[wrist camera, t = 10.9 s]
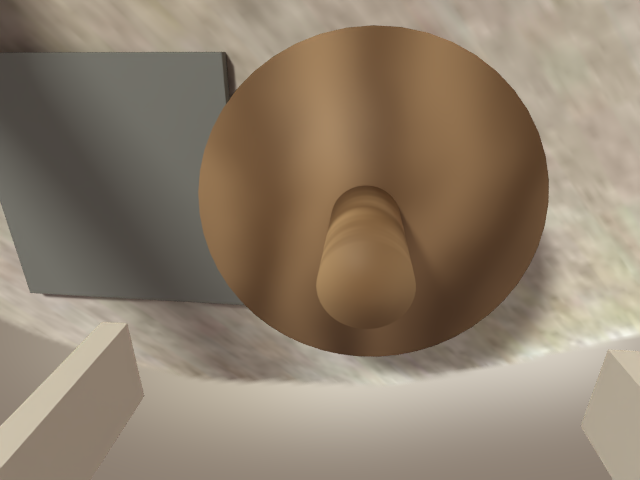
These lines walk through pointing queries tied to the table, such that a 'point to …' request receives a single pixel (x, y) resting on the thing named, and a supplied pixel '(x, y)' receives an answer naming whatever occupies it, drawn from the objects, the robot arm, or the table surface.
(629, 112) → the table surface
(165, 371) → the table surface
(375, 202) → the lid
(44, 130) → the mat
